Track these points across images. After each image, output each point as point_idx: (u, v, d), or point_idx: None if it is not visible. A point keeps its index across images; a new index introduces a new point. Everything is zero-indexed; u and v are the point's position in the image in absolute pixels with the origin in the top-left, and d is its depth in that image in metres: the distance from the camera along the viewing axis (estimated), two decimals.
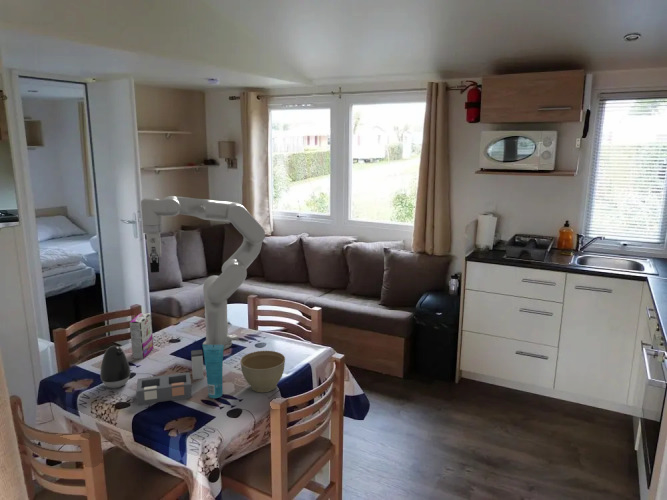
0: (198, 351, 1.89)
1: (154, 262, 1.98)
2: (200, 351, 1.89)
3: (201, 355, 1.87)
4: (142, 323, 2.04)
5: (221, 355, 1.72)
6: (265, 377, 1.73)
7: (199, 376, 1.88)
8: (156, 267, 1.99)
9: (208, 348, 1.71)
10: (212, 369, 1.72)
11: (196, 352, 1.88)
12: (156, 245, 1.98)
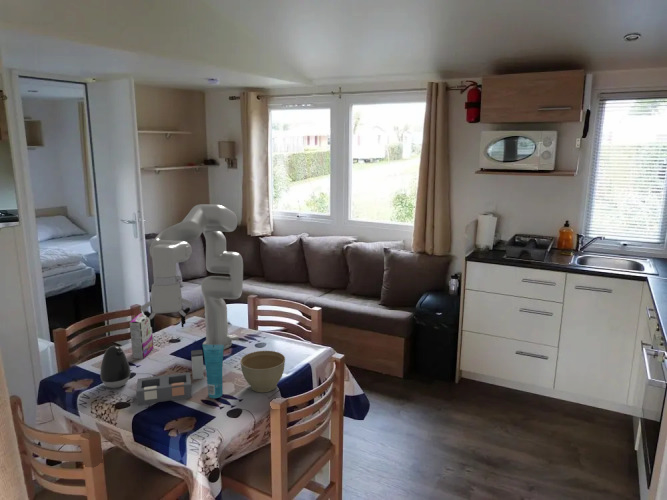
0: (198, 351, 1.89)
1: None
2: (200, 351, 1.89)
3: (201, 355, 1.87)
4: (142, 323, 2.04)
5: (221, 355, 1.72)
6: (265, 377, 1.73)
7: (199, 376, 1.88)
8: None
9: (208, 348, 1.72)
10: (212, 369, 1.72)
11: (196, 352, 1.88)
12: (181, 295, 1.74)
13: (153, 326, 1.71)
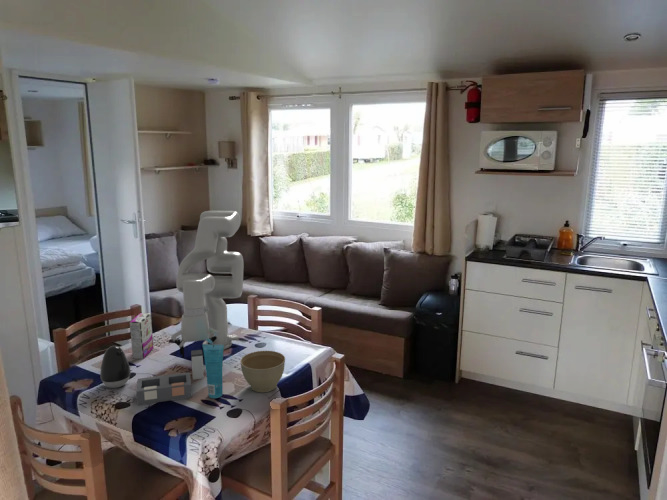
0: (198, 351, 1.89)
1: None
2: (200, 351, 1.89)
3: (201, 355, 1.87)
4: (142, 323, 2.04)
5: (221, 355, 1.72)
6: (265, 377, 1.73)
7: (199, 376, 1.88)
8: None
9: (208, 348, 1.71)
10: (212, 369, 1.72)
11: (196, 352, 1.88)
12: None
13: (183, 354, 1.84)
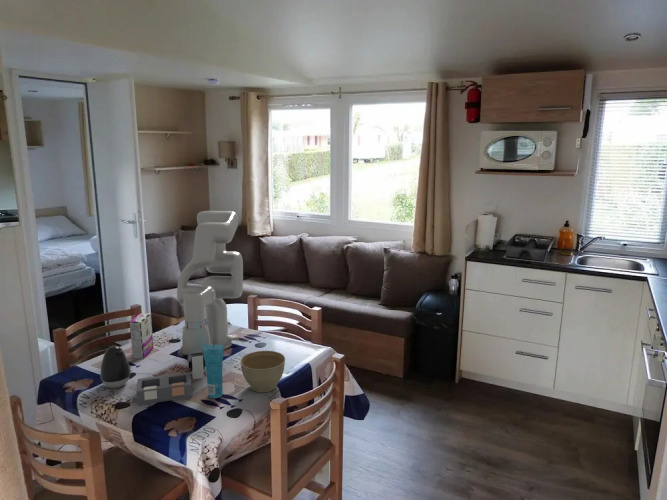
0: None
1: None
2: None
3: (201, 355, 1.87)
4: (142, 323, 2.04)
5: (221, 355, 1.72)
6: (265, 377, 1.73)
7: (199, 376, 1.88)
8: None
9: (208, 348, 1.71)
10: (212, 369, 1.72)
11: None
12: None
13: (191, 368, 1.87)
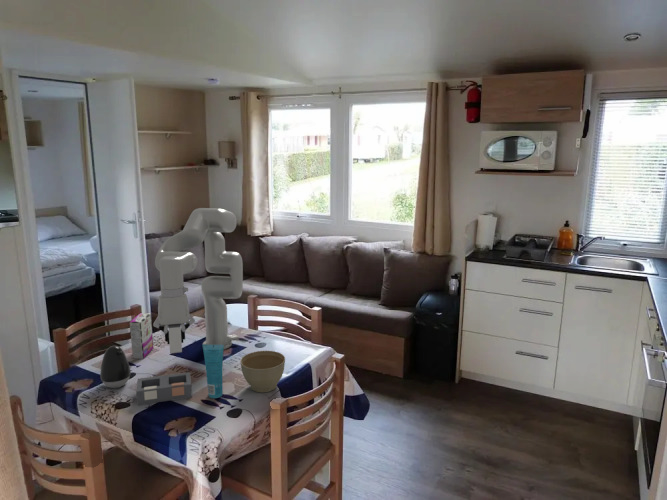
0: None
1: None
2: None
3: (179, 326, 1.71)
4: (142, 323, 2.04)
5: (221, 355, 1.72)
6: (265, 377, 1.73)
7: (177, 350, 1.72)
8: None
9: (208, 348, 1.71)
10: (212, 369, 1.72)
11: None
12: None
13: (168, 340, 1.71)
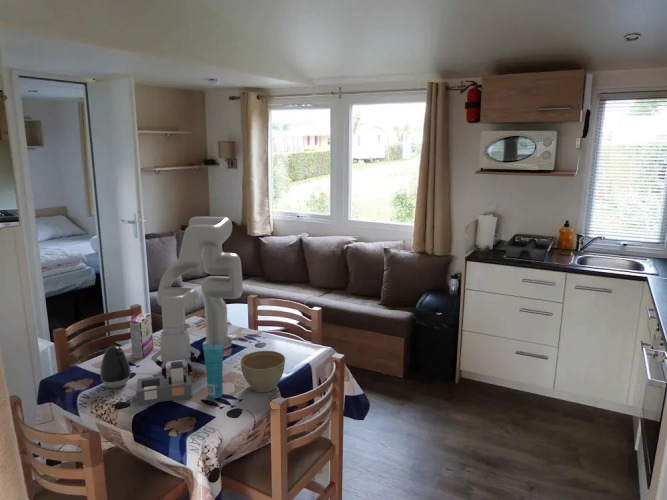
0: (178, 363, 1.76)
1: None
2: (180, 363, 1.76)
3: (181, 367, 1.74)
4: (142, 323, 2.04)
5: (221, 355, 1.72)
6: (265, 377, 1.73)
7: None
8: None
9: (208, 348, 1.71)
10: (212, 369, 1.72)
11: (176, 364, 1.75)
12: None
13: (165, 375, 1.73)
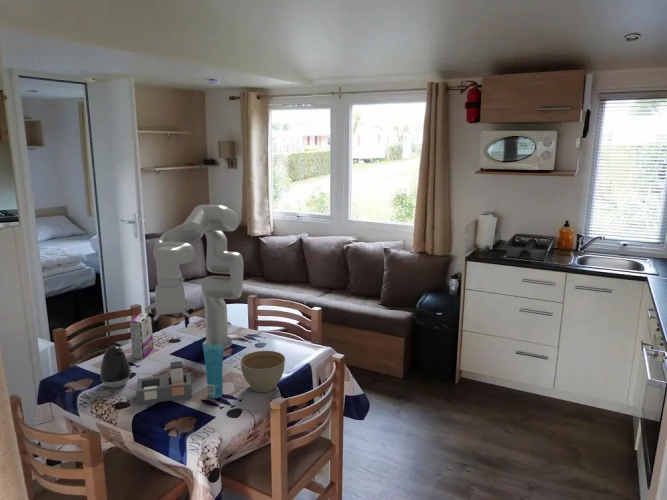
0: (178, 363, 1.76)
1: None
2: (180, 363, 1.76)
3: (181, 367, 1.74)
4: (142, 323, 2.04)
5: (221, 355, 1.72)
6: (265, 377, 1.73)
7: None
8: None
9: (208, 348, 1.72)
10: (212, 369, 1.72)
11: (176, 364, 1.75)
12: None
13: (157, 327, 1.73)
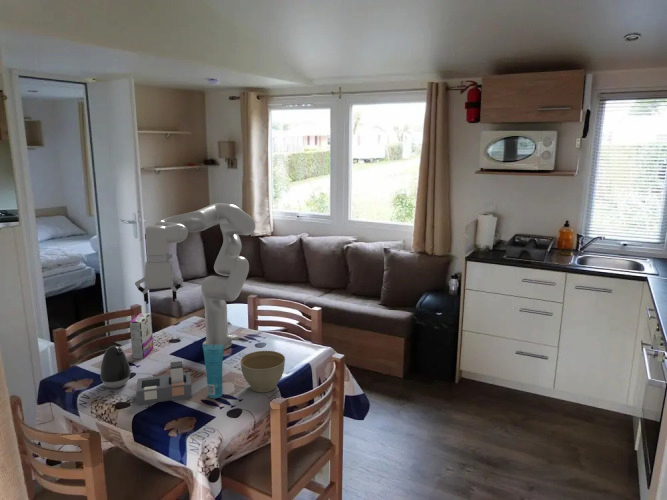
0: (178, 363, 1.76)
1: (177, 289, 1.90)
2: (180, 363, 1.76)
3: (181, 367, 1.74)
4: (142, 323, 2.04)
5: (221, 355, 1.72)
6: (265, 377, 1.73)
7: None
8: None
9: (208, 348, 1.72)
10: (212, 369, 1.72)
11: (176, 364, 1.75)
12: None
13: (147, 300, 1.86)
